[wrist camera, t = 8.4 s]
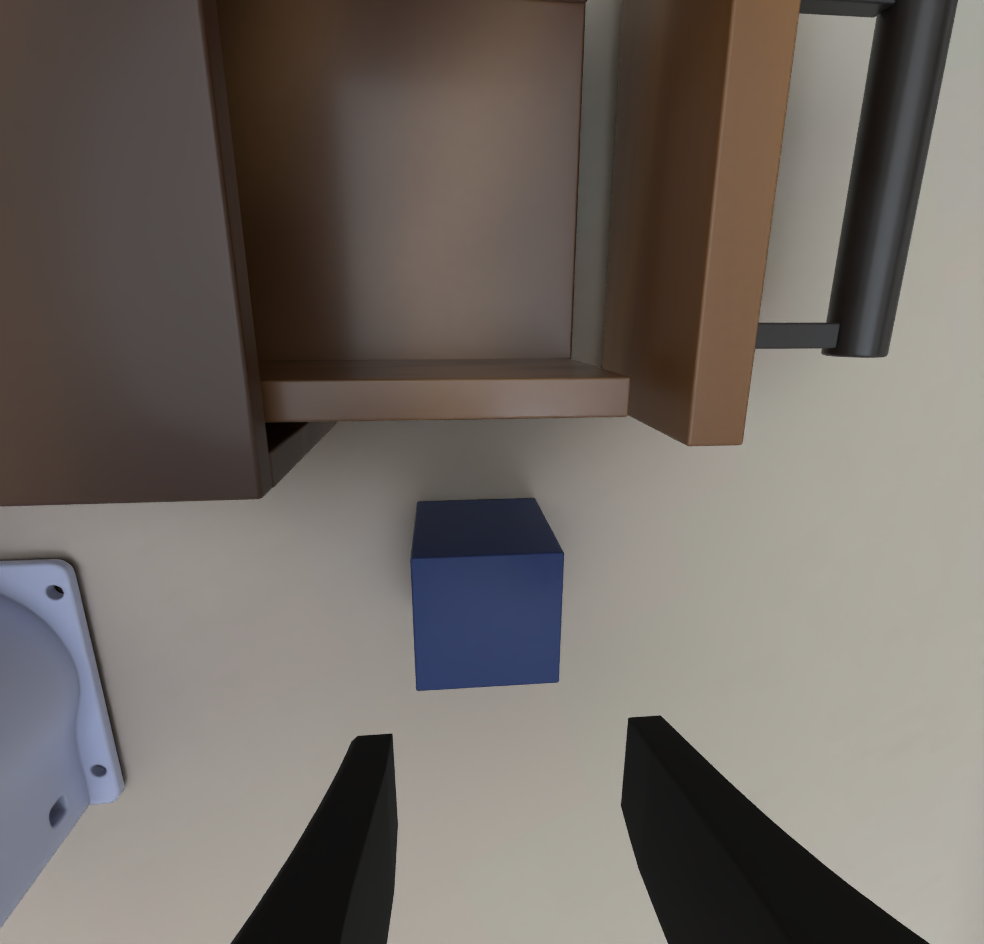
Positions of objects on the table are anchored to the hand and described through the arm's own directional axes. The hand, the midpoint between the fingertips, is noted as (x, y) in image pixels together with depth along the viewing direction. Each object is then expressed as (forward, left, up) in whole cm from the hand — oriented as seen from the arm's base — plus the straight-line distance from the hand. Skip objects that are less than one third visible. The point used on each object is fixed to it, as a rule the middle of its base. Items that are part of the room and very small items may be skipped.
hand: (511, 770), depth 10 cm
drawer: (+11, -1, -9) cm, 14 cm away
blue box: (0, 0, -9) cm, 9 cm away
